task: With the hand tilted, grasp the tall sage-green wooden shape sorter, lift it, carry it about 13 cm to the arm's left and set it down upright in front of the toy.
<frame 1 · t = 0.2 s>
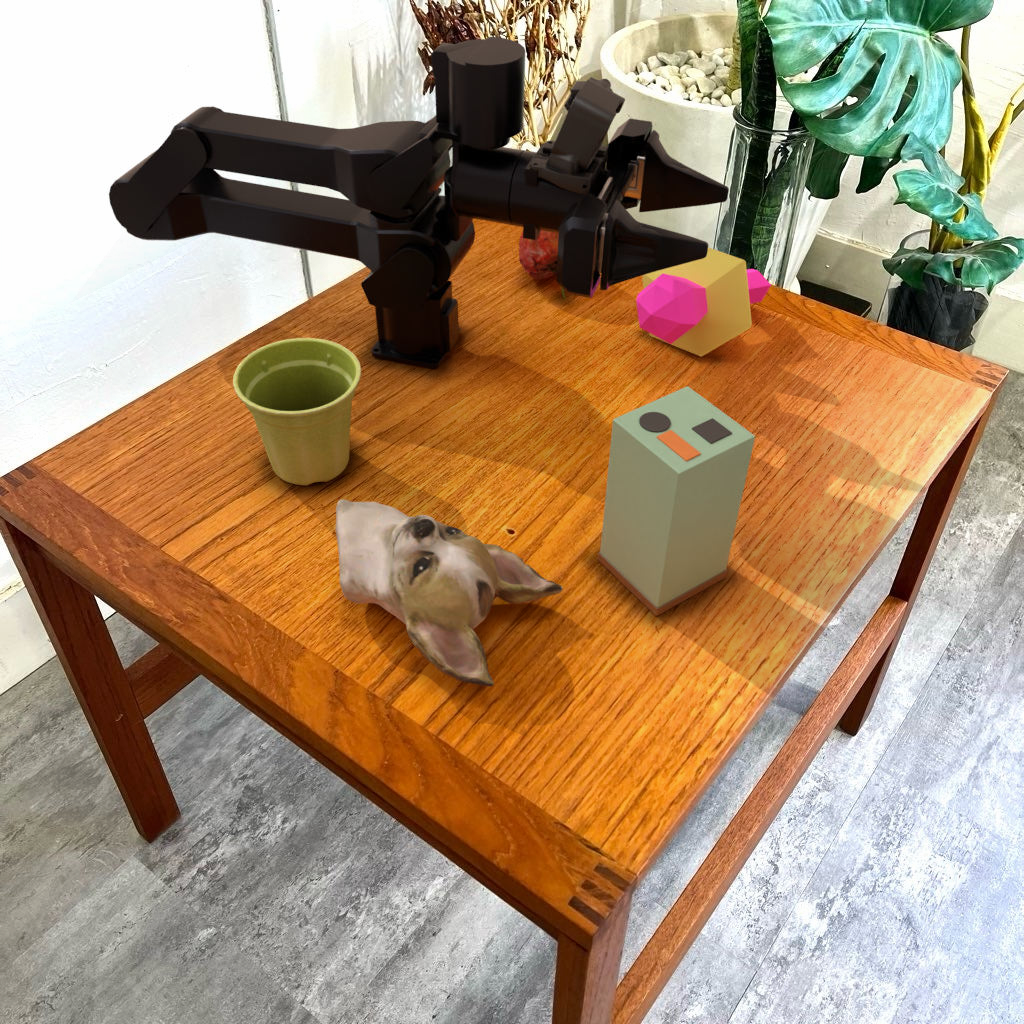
hand: (718, 221, 78), 17 cm above the table, tool horizontal, fingers open, 9 cm apart
toy: (692, 339, 96), on the table
plant pot: (312, 463, 82), on the table
shape sorter: (661, 568, 74), on the table
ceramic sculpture: (435, 615, 71), on the table
pomegranate: (554, 281, 103), on the table
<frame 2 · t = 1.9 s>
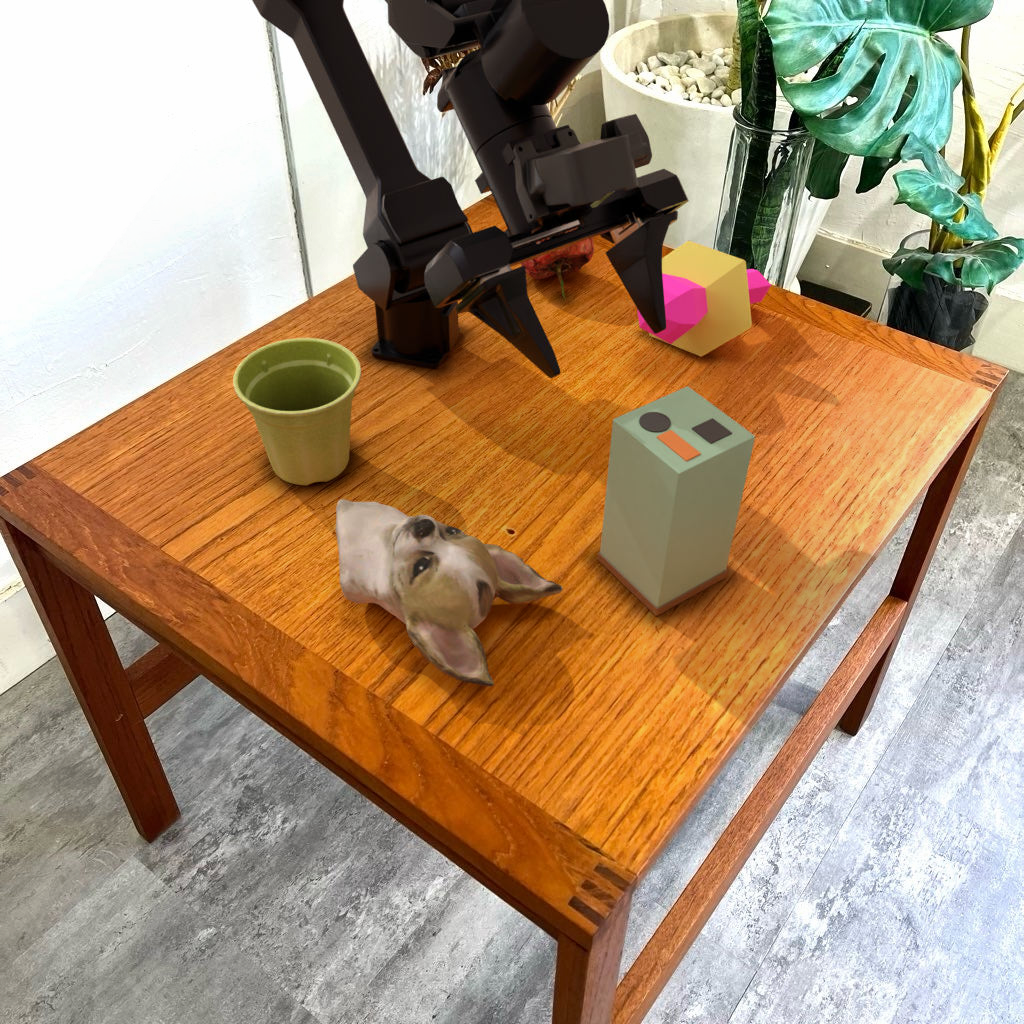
hand: (609, 353, 70), 14 cm above the table, tool tilted 45°, fingers open, 9 cm apart
nothing on the table moved.
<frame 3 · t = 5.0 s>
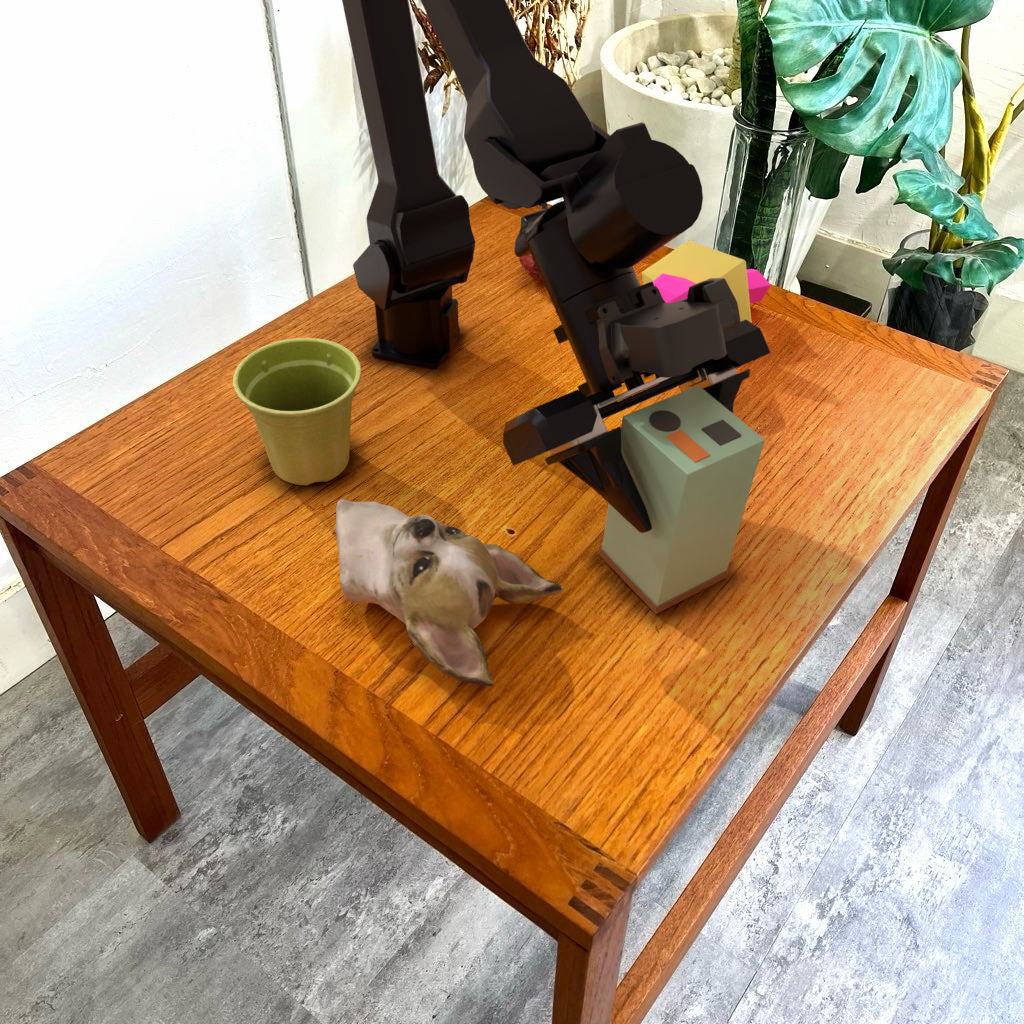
hand: (689, 510, 68), 7 cm above the table, tool tilted 45°, fingers closed on shape sorter, 7 cm apart
shape sorter: (662, 566, 74), on the table, touching gripper
everything else where it was.
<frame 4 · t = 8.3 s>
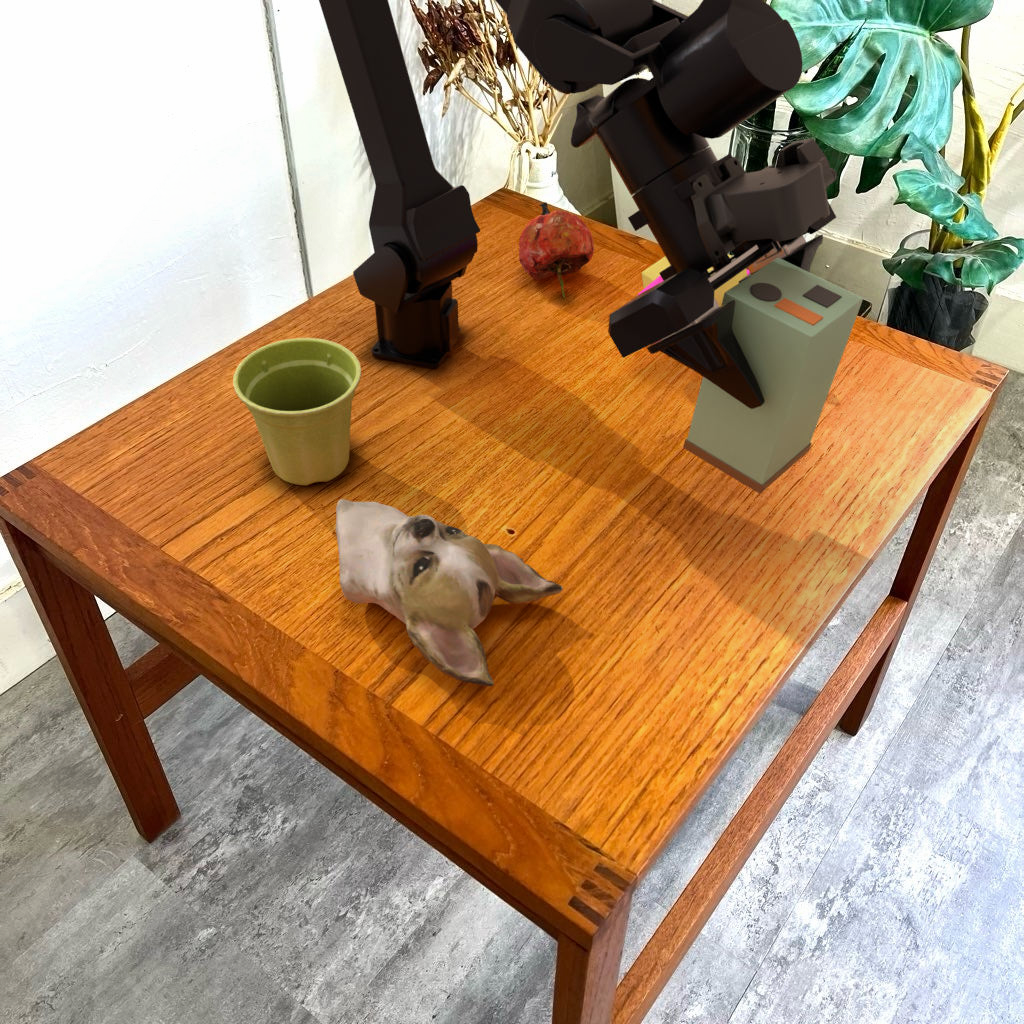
hand: (787, 381, 68), 13 cm above the table, tool tilted 45°, fingers closed on shape sorter, 7 cm apart
shape sorter: (746, 449, 74), point 6 cm above the table, touching gripper
everything else where it was.
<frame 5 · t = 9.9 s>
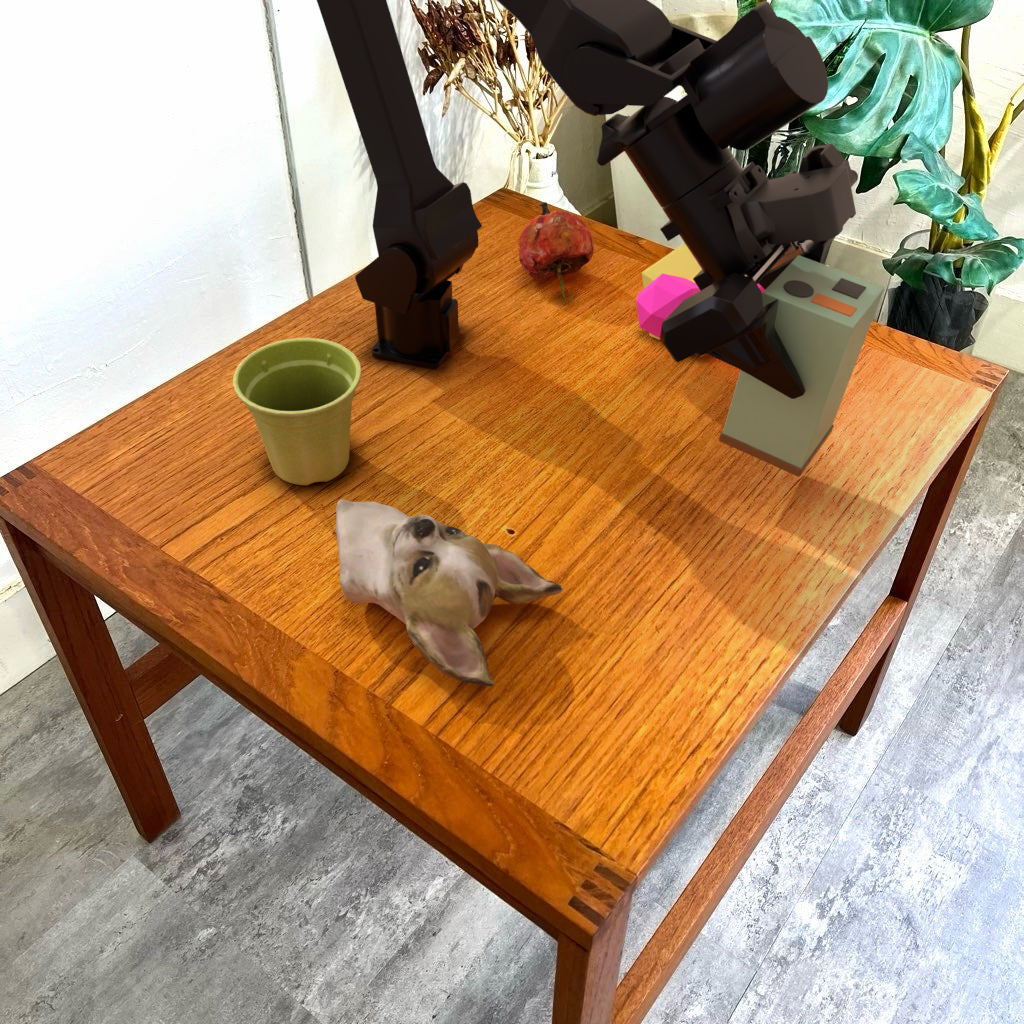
hand: (818, 370, 73), 11 cm above the table, tool tilted 45°, fingers closed on shape sorter, 7 cm apart
shape sorter: (775, 436, 79), point 4 cm above the table, touching gripper
everything else where it was.
when the fingers open (7 cm above the table, at t = 11.8 s): shape sorter stays where it is, on the table.
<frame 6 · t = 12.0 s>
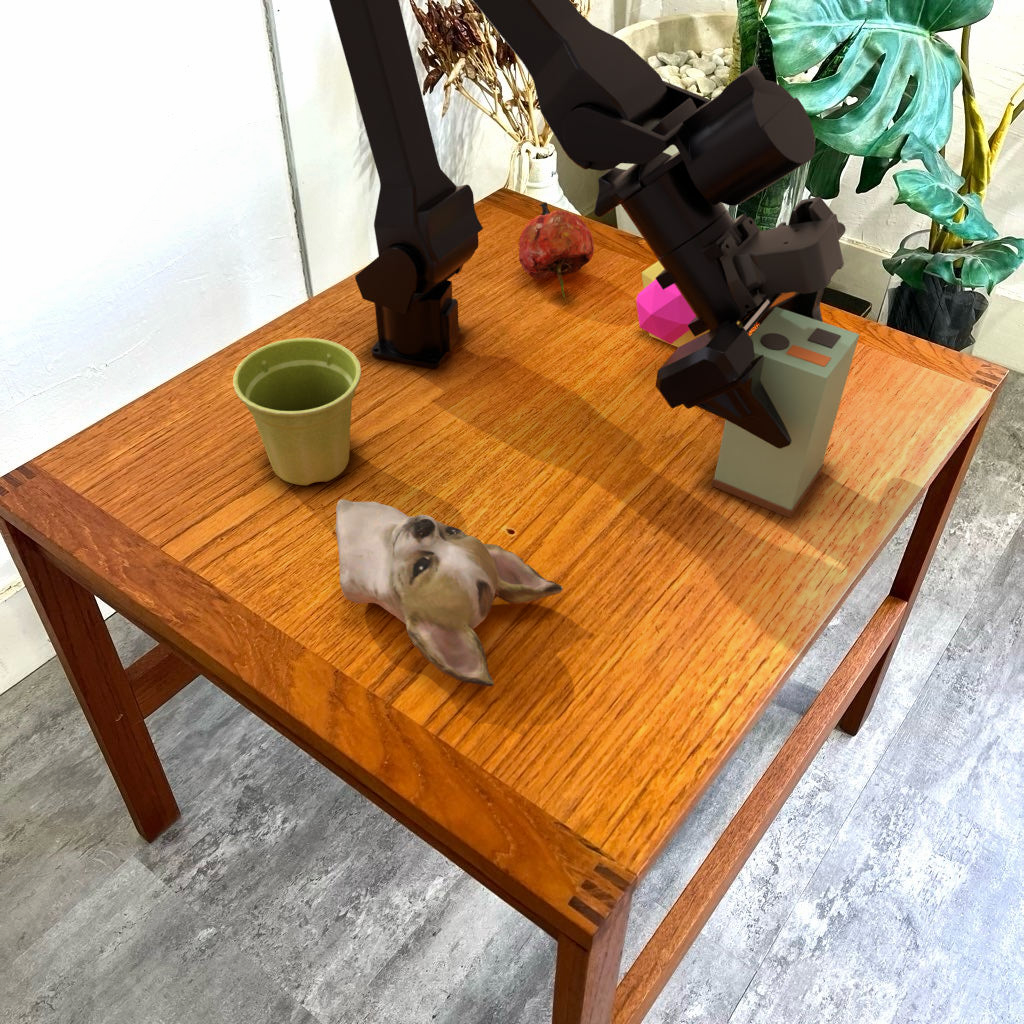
hand: (809, 412, 75), 8 cm above the table, tool tilted 45°, fingers open, 9 cm apart
shape sorter: (767, 478, 81), on the table
everything else where it was.
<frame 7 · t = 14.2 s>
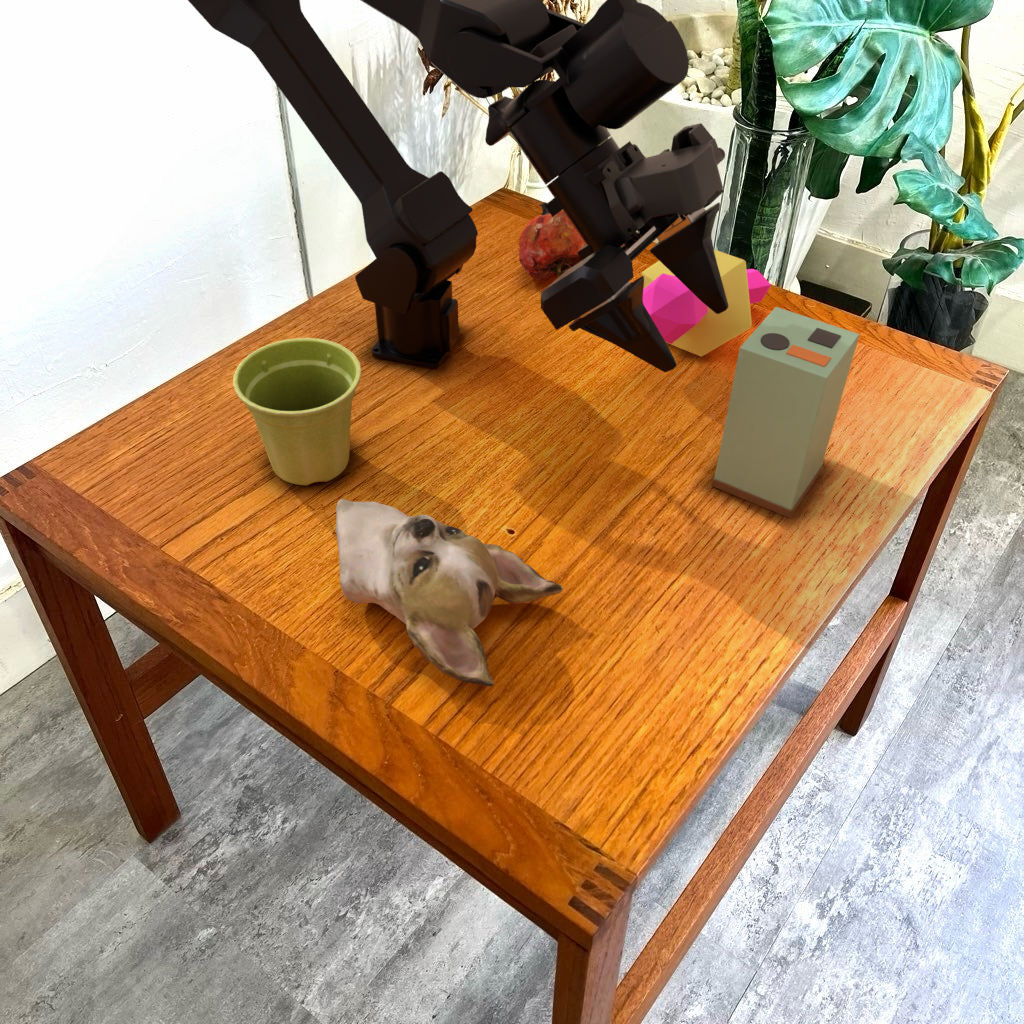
hand: (698, 339, 77), 10 cm above the table, tool tilted 45°, fingers open, 9 cm apart
nothing on the table moved.
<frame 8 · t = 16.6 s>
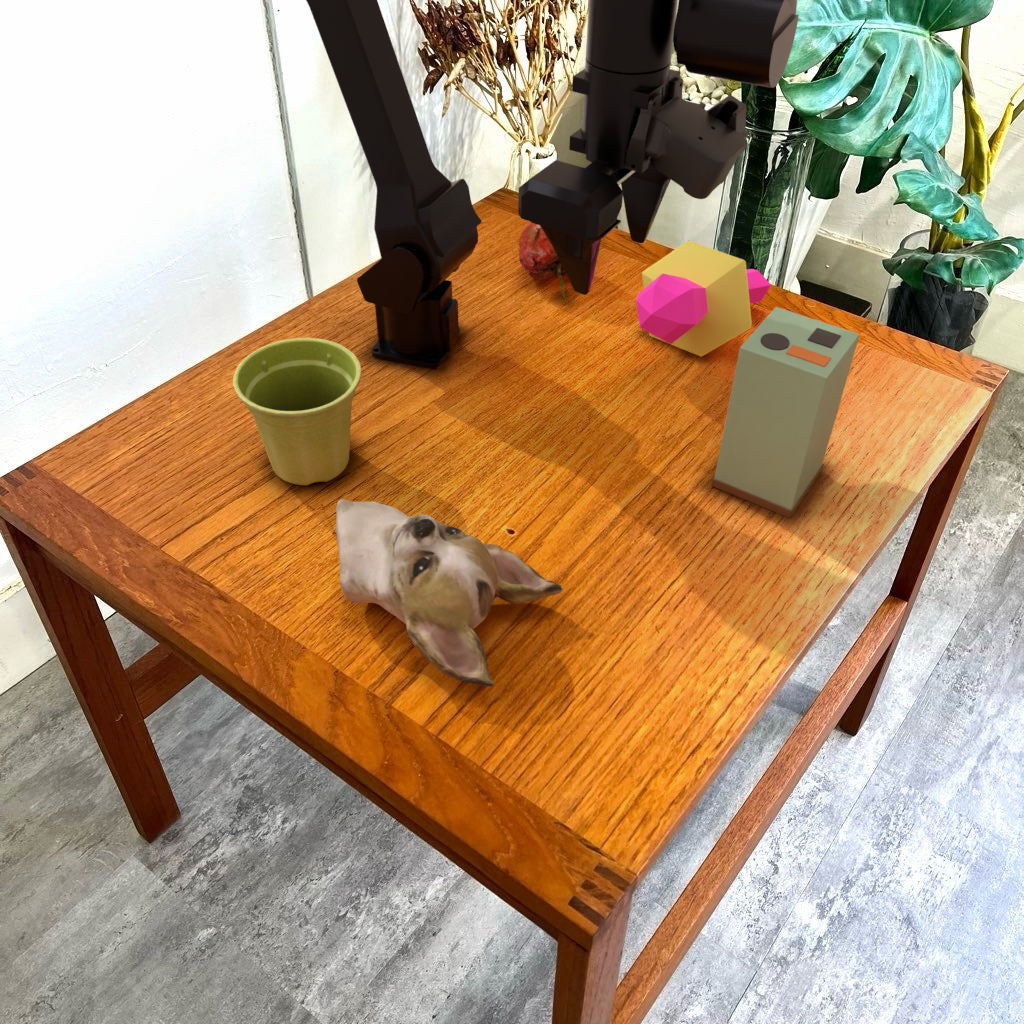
hand: (610, 266, 80), 13 cm above the table, tool pointing down, fingers open, 9 cm apart
nothing on the table moved.
at the end: shape sorter inside the target area on the table beside the toy (0.4 cm from its centre), on the table; shape sorter tilted 0°; shape sorter moved 13.6 cm from its start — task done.
